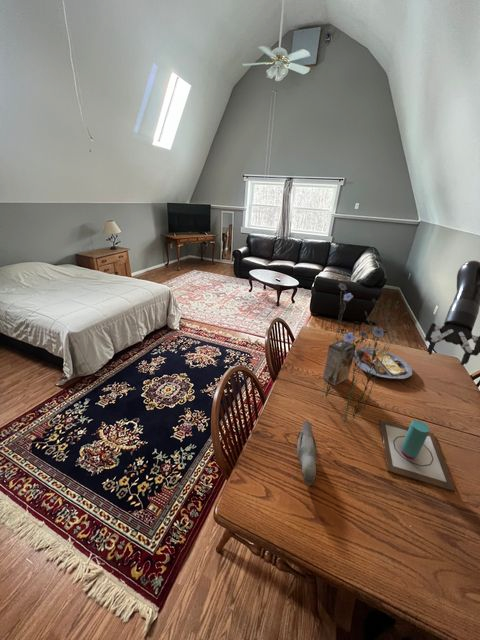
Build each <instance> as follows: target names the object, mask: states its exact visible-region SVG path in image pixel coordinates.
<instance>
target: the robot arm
mask: <svg viewBox="0 0 480 640" xmlns="http://www.w3.org/2000/svg"><path fill="white" fill-rule="evenodd" d="M479 312H480V261H478V260H468V261H466V262H464V263H463V264H462V265H461V266H460V267H459V269H458V271H457V274H456V293H455V296H454V298H453V301H452V303H451V305H450V306H449V309H448V310H447V313H446V317H445V319H444V322H443V324H442V326H440V325H437V324H436V323H434V322H433V323H431V324H430V326H429V329H428V331H427V332H426V335H425V337H424V341H425V342H427V343H429V344H428V347H427V350H426V352H427V353H428V355H430V356H432V353H433V351H434V349H435V346H436V344H437V343H440V342H442V341H445V343H451V344H453V345H455V346H458V345H459V347H460V348H461V349H462V350H463V352H464V353H463V355H462V357H461V361H460V365H461V366H464V365H467V364H468V363H469V361H470V358H471V356H479V354H480V335H479V336H478V335H474V334H473V329H474V326H475V323H476V321H477V319H478V315H479ZM437 331H439V333H440V334H438V335H437V336H434V337H432V334H433V333H435V332H437ZM469 340H472V342H473V343H474V346H473V347H474V348H473V349H472V348H471V346H470V343H469Z"/></svg>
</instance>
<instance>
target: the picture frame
mask: <svg viewBox="0 0 480 640" xmlns="http://www.w3.org/2000/svg"><path fill="white" fill-rule="evenodd" d="M379 427H380V433H381V439H382V445H383V451H384V452H383V453H384V458H385V465H386V470H387V473H391V474H393V475H397V476H400V477H403V478H406V479H410V480H413V481H416V482H418V483H419V482H420V483H423V484H425V485H429V486H432V487H436V488H439V489H441V490H444V491H449V492H451V493H456V489H455V486H454V483H453V480H452V478H451V475H450V474H449V471H448V467H447V465H446V462H445V460H444V457H443V455H442V452H441V450H440V447H439V445H438V441H437V440H436V437H435V434H434V433H432V432H429V433H428V435H427V437H426V440H425V442H424V444H423V446H422V448H421V450H420V452H419V454H418V456H417V457H415V458H414V459H409V458H406V457H405V456H404V455H403V454H402V452H401V446H402V443H403V441H404V439H405V436H406V434H407V432H408V429H409V427H410V426H406V425H402V424H398V423H394V422H391V421H388V420H383V419H379Z"/></svg>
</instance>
